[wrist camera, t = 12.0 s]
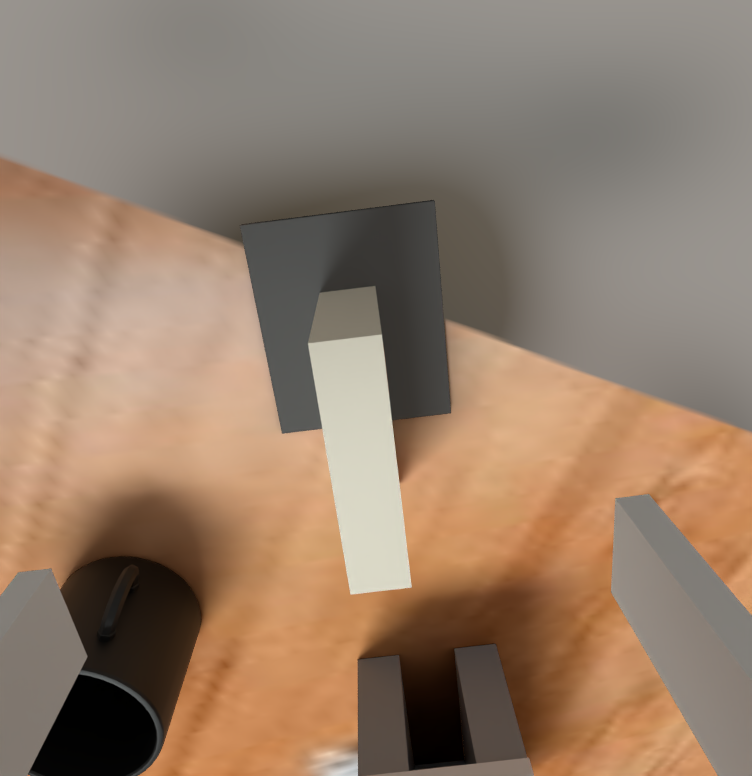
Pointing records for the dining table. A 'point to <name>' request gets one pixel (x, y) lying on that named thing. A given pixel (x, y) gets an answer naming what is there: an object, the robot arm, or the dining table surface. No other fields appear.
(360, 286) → the mat
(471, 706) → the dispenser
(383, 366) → the cream upright slab
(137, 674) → the mug
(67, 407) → the dining table surface
